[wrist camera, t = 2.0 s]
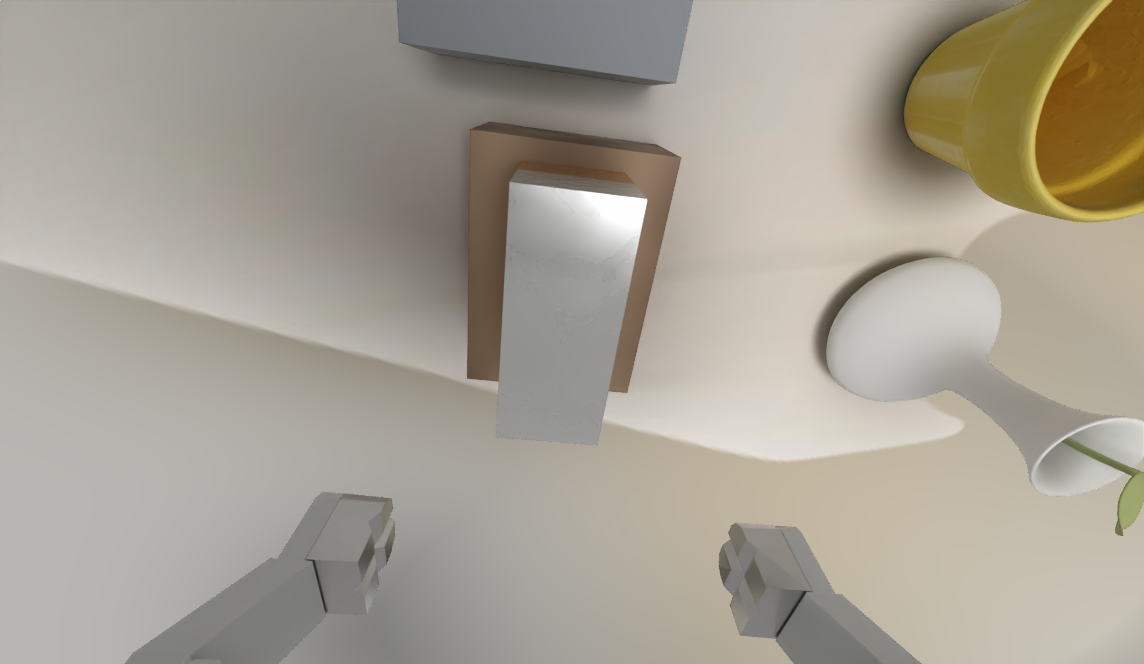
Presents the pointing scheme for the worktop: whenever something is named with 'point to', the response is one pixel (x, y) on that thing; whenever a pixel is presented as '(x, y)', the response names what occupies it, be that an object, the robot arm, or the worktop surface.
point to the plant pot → (1041, 107)
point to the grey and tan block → (564, 298)
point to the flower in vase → (976, 375)
